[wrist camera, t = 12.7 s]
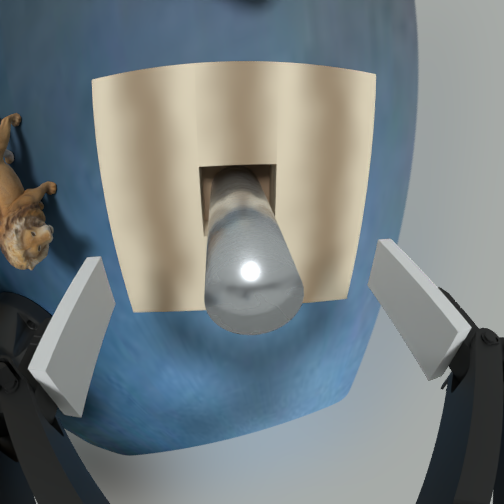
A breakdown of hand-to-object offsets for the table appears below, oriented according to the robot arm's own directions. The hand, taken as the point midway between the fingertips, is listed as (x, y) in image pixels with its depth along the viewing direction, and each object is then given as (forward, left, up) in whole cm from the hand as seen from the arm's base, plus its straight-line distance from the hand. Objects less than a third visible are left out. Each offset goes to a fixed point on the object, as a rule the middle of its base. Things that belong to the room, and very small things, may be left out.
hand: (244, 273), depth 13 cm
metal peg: (0, 0, -12) cm, 12 cm away
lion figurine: (-19, +4, -13) cm, 23 cm away
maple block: (0, 0, -13) cm, 13 cm away
